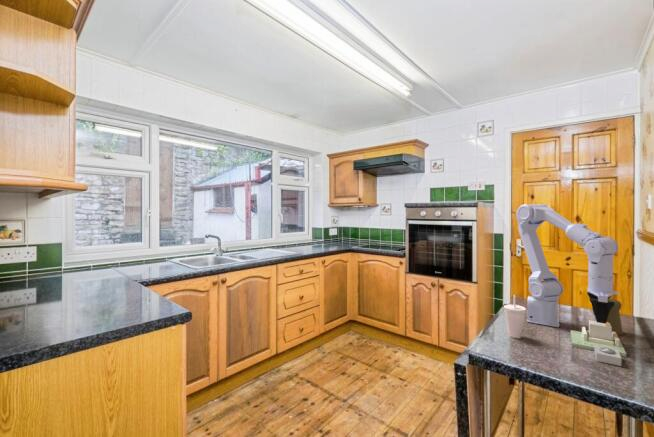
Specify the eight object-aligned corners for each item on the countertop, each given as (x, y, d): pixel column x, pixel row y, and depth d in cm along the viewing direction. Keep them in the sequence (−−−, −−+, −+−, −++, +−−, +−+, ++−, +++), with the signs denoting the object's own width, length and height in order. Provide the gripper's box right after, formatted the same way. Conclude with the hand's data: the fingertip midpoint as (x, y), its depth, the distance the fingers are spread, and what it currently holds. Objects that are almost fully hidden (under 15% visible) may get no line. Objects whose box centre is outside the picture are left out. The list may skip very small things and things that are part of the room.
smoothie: (501, 336, 102) (501, 294, 101) (506, 330, 107) (506, 290, 106) (523, 341, 98) (524, 298, 97) (527, 335, 102) (528, 293, 102)
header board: (572, 346, 94) (572, 335, 94) (570, 332, 104) (570, 323, 103) (626, 357, 87) (626, 345, 87) (619, 341, 96) (619, 331, 96)
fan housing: (596, 361, 85) (596, 351, 85) (594, 352, 90) (594, 343, 90) (621, 366, 82) (621, 356, 82) (617, 357, 87) (617, 347, 87)
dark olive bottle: (616, 328, 106) (617, 297, 106) (627, 336, 100) (627, 302, 100) (595, 327, 108) (595, 296, 108) (604, 333, 102) (604, 301, 102)
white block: (589, 339, 96) (590, 322, 96) (588, 335, 99) (588, 319, 99) (611, 343, 93) (611, 326, 93) (609, 338, 96) (609, 322, 96)
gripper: (622, 282, 87) (621, 329, 88) (614, 273, 99) (613, 314, 99) (589, 279, 91) (589, 324, 92) (585, 270, 103) (585, 310, 104)
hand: (599, 319), depth 96 cm, fingers open, 6 cm apart
